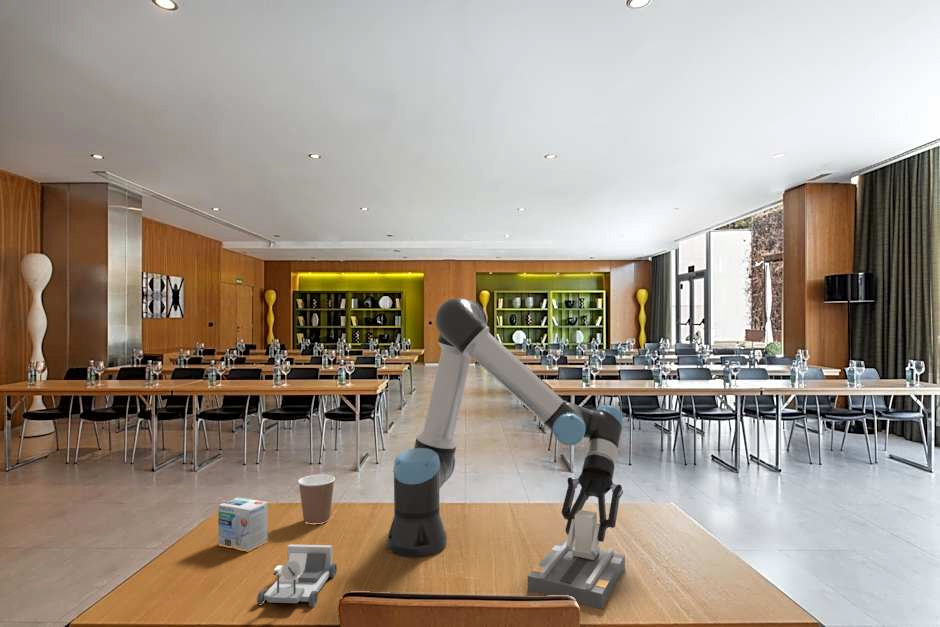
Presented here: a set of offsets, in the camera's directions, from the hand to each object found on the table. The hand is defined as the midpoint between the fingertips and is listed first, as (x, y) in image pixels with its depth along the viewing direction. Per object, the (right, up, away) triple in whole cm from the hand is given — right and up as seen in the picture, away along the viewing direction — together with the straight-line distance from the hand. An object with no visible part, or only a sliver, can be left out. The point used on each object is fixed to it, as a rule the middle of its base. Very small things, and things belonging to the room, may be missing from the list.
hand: (581, 551), depth 121 cm
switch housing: (-1, -5, -2) cm, 6 cm away
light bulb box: (-84, -6, +17) cm, 86 cm away
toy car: (-62, -6, -7) cm, 63 cm away
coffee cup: (-69, -6, +33) cm, 77 cm away
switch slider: (+2, -2, +3) cm, 4 cm away
